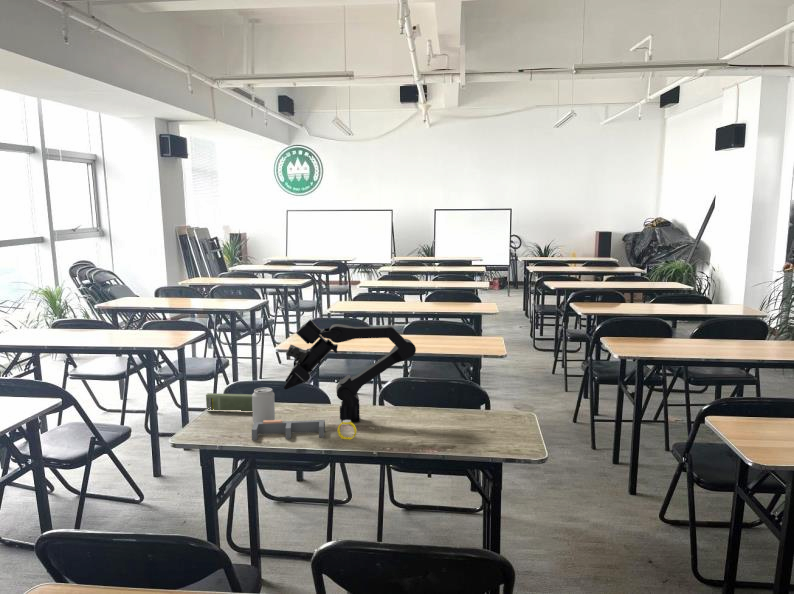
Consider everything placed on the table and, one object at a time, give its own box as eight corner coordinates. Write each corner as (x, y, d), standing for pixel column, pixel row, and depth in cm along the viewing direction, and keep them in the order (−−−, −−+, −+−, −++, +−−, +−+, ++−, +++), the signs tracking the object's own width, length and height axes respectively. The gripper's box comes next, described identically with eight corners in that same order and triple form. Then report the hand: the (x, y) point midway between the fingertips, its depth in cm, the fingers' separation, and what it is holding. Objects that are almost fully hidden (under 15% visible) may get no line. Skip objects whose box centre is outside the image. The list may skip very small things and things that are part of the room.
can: (250, 421, 202) (249, 388, 201) (271, 418, 205) (270, 385, 204) (255, 427, 195) (254, 393, 194) (277, 424, 199) (276, 390, 198)
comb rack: (324, 429, 193) (324, 418, 193) (325, 437, 186) (324, 424, 186) (254, 432, 190) (254, 420, 190) (251, 440, 183) (251, 427, 183)
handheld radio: (209, 409, 217) (274, 411, 214) (205, 412, 213) (271, 414, 211) (208, 392, 216) (273, 394, 213) (204, 395, 212) (270, 397, 210)
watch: (337, 440, 184) (335, 422, 184) (340, 437, 187) (338, 419, 187) (355, 440, 183) (353, 422, 183) (357, 437, 186) (356, 419, 185)
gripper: (301, 332, 208) (270, 363, 208) (299, 342, 190) (265, 375, 189) (323, 353, 210) (293, 384, 210) (323, 365, 191) (290, 398, 191)
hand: (285, 385), depth 200 cm, fingers open, 9 cm apart
